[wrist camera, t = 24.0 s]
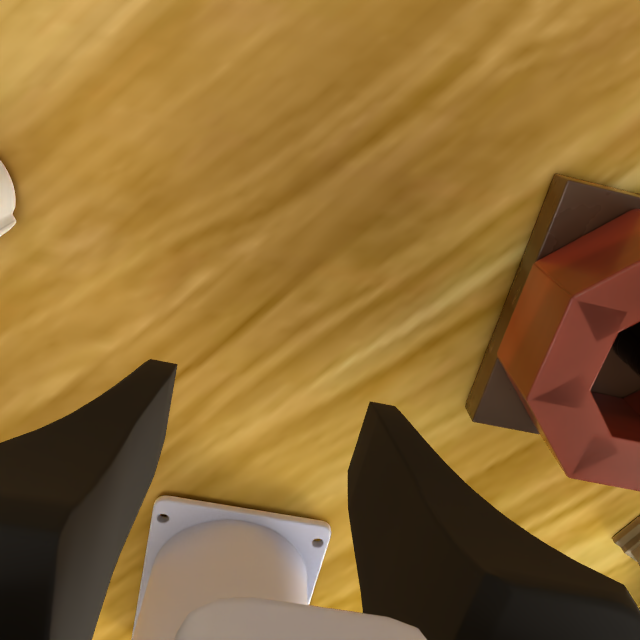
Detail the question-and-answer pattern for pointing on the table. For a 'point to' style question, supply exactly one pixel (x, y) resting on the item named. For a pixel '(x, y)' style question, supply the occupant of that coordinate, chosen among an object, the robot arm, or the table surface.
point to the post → (548, 236)
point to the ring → (580, 352)
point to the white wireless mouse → (6, 201)
